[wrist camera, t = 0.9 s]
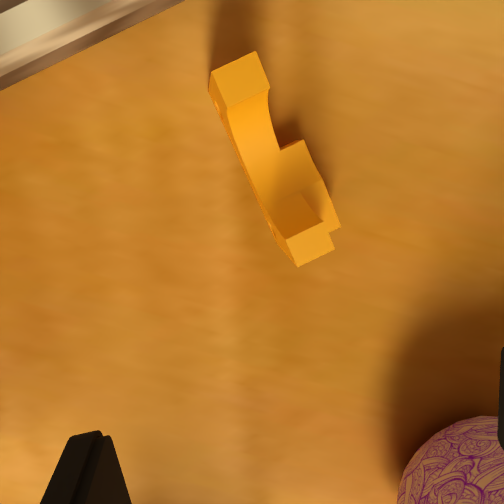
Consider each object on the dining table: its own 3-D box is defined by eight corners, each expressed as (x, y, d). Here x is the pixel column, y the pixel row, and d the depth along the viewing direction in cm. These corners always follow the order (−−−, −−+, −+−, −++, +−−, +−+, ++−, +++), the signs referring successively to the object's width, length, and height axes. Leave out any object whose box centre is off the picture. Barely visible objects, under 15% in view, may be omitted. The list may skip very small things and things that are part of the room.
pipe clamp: (325, 218, 29) (360, 236, 23) (276, 242, 29) (297, 267, 23) (264, 64, 26) (285, 36, 19) (208, 91, 25) (211, 71, 19)
